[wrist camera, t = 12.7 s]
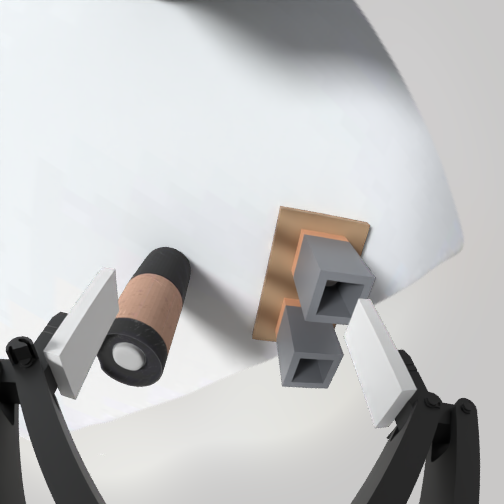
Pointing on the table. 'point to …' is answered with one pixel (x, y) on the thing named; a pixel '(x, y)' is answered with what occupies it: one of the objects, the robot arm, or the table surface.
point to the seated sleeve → (329, 277)
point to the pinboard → (282, 259)
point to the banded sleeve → (305, 348)
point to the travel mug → (146, 319)
